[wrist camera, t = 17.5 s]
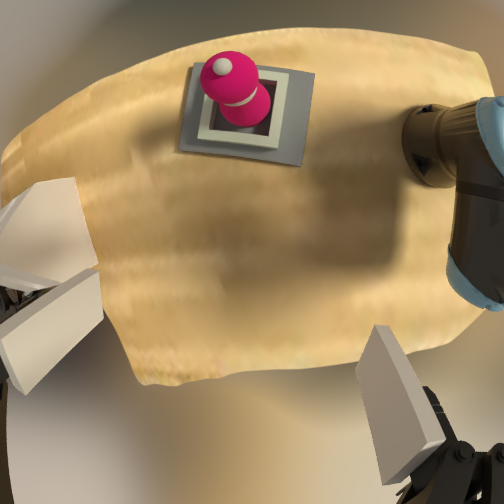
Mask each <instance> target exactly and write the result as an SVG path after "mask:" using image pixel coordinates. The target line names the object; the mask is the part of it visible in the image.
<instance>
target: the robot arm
mask: <svg viewBox="0 0 504 504" xmlns="http://www.w3.org/2000/svg"><path fill="white" fill-rule="evenodd" d="M402 144H403V150H404V154H405V157H406V160H407V162H408V164H409V166H410V168H411V169H412V171H413V172H414V173H415V175H416V176H417V177H418V178H419V179H420V180H422V181H423V182H424V183H426V184H428V185H430V186H433V187H438V188H452V187H455V186H456V191H455V203H454V214H453V223H452V231H451V238H450V243H449V245H448V260H447V266H446V275H447V278H448V281H449V283H450V285H451V287H452V288H453V289H454V290H455V291H456V293H458V294H459V295H460V296H461V297H462V298H464V299H465V300H466V301H468V302H469V303H471V304H473V305H475V306H477V307H479V308H482V309H484V308H486V309H488V310H489V311H494V312H498V311H502V310H504V96H498V97H483V98H480V99H479V100H476V101H473V102H469V103H466V104H462V105H459V106H456V107H453V108H450V107H446V106H442V105H438V104H429V105H425V106H422V107H419V108H417V109H415V110H414V111H413V112H412V113H411V114H410V115H409V116H408V118H407V119H406V122H405V124H404V127H403V133H402ZM102 319H104V318H103V309H102V301H101V290H100V278H99V271H97V270H93V269H90V268H87V269H85V270H83V271H82V272H80V273H78V274H77V275H75V276H73V277H72V278H70V279H68V280H67V281H65V282H63V283H62V284H60V285H59V286H57V287H55V288H54V289H52V290H51V291H49V292H48V293H46V294H44V295H43V296H42V297H40V298H38V299H37V300H35V301H34V302H32V303H31V304H29V305H27V306H24V307H22V308H21V309H19V310H18V311H16V312H15V314H12V315H10V316H9V318H6V319H5V320H3V321H2V322H1V323H0V504H14V500H13V494H12V489H11V482H10V476H9V467H8V456H7V441H6V440H7V438H6V413H7V394H8V383H7V381H6V379H7V378H8V377H10V379H11V380H12V383H13V385H14V387H15V388H16V389H18V390H19V391H20V392H22V393H23V394H24V395H27V394H28V393H29V391H30V390H31V389H32V388H33V387H34V386H35V385H36V384H37V383H38V382H39V381H40V380H41V379H42V378H43V377H44V376H45V375H46V374H47V373H48V372H49V371H50V370H51V369H52V368H53V367H54V366H55V365H56V364H57V363H58V362H59V361H60V360H61V359H62V358H63V357H64V356H65V355H66V354H67V353H68V352H69V351H70V350H71V349H72V348H73V347H74V346H75V345H76V344H77V343H78V342H79V341H80V340H81V339H82V338H83V337H84V336H85V335H87V334H88V333H89V332H90V331H91V330H92V329H93V328H94V327H95V326H96V325H97V324H98V323H99V322H100V321H101V320H102ZM355 373H356V376H357V380H358V384H359V387H360V391H361V395H362V398H363V402H364V406H365V410H366V414H367V418H368V421H369V426H370V430H371V434H372V438H373V443H374V447H375V451H376V456H377V461H378V466H379V471H380V476H381V481H382V485H390V484H396V483H401V482H402V481H403V480H404V479H405V478H407V477H408V476H409V475H410V477H411V482H410V483H409V484H407V485H406V486H405V487H404V488H403V489H401V490H400V491H399V492H398V493H397V494H396V495H397V496H398V495H400V494H401V493H402V492H403V493H402V495H401V497H400V498H399V500H398V502H397V503H396V504H504V444H503V443H497V444H496V445H494V446H493V447H492V448H491V449H490V450H489V451H488V452H475V449H474V448H473V447H472V446H471V445H470V444H469V443H467V442H465V441H458V440H457V438H456V436H455V434H454V432H453V429H452V427H451V425H450V423H449V421H448V419H447V417H446V415H445V413H444V411H443V409H442V407H441V406H440V403H439V401H438V399H437V397H436V395H435V394H434V393H433V392H432V391H431V390H430V389H429V388H428V387H427V386H421V384H420V382H419V380H418V378H417V376H416V374H415V372H414V370H413V368H412V367H411V365H410V363H409V361H408V359H407V357H406V355H405V354H404V352H403V350H402V348H401V346H400V344H399V343H398V341H397V339H396V337H395V336H394V334H393V332H392V330H391V329H390V327H389V326H384V325H374V327H373V330H372V332H371V335H370V337H369V340H368V342H367V344H366V347H365V349H364V351H363V354H362V356H361V358H360V360H359V362H358V365H357V367H356V369H355ZM481 491H482V494H481V498H480V499H479V500H477V494H479V493H480V492H481Z"/></svg>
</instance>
